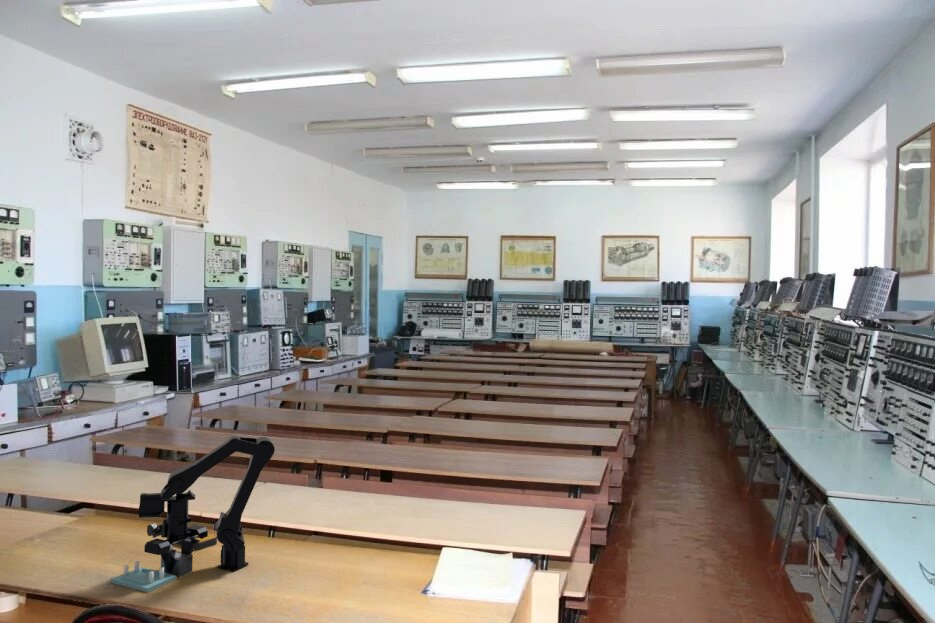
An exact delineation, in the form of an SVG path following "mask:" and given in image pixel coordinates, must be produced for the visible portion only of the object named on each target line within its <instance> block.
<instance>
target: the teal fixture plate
mask: <svg viewBox="0 0 935 623" xmlns="http://www.w3.org/2000/svg"><path fill="white" fill-rule="evenodd" d="M133 566H134V567H133V568H134V569H132V570H129V568H130V567H129V565H128V564H124V565H123V573H122V574H119V575H117V576H115V577H113V578H110V583H111V584H115V585H118V586H122V587H126V588H130V589H133V590H137V591H142V592H144V593H145V592H146V593H149V592H151V591H153V590H156V589H158V588H160V587H163V586H165V585H167V584H169V583H172V582H174V581H177V577H176V576H174V575H170V574H166V573H165V572H164V567H161V566H160V567H159V570H157V569H152V568H148V567H145V566H144V567H141V566H140V561H139V560H136V561H134V565H133Z"/></svg>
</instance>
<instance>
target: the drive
mask: <svg viewBox="0 0 935 623" xmlns="http://www.w3.org/2000/svg"><path fill="white" fill-rule="evenodd" d="M160 567H164V572H165V573H166V574H170V575H174V576H176V578H181V577H183V576H186V575H188V574H190V573H193V553H192V554H188V553H183V552H181V551H178V550H176V553H175V558H174V563H173V568H172V571H171V572H168V571H167V569H166V566H165V564H164V561H163V559H162V557H161V556H160Z"/></svg>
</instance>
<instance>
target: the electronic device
mask: <svg viewBox="0 0 935 623" xmlns="http://www.w3.org/2000/svg"><path fill="white" fill-rule="evenodd" d="M196 539H197V540H200V542H199V543H198V544H197V545H196V547H195V550H194V551H199V550H200V549H201V550H204V549H206V548H209V547H213V546H216V545H217V544H218V539H217V535H213V534H209V533H208V537H205V538H202V539H200V538H199V537H198V535H196ZM175 544H177V545H180V543H179V542H178V543H175ZM180 546H181V545H180ZM203 548H204V549H203Z"/></svg>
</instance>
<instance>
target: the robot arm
mask: <svg viewBox="0 0 935 623" xmlns="http://www.w3.org/2000/svg"><path fill="white" fill-rule="evenodd" d="M275 451H276V450H275V446H274V443H273V442H272V440H271V438H269V437H267V436H261V437H258V438H256V437H255V438H254V437H243V436H242V437H241V436H237V435H234V436H230V437H229V438H228V440H226V441H224V442H223V443H221V444H220V445H219V446H217V447H215V448H213V449H212V450H211V451H210V452H208V453H206V454H205V455H203V456H202V457H200V458H199V459H197V460H196V461H195V462H192V463H190V464H187V465H184V466H181V467H180V468H178V469H175V470H173V471H171V473H170V474H169V476H168V479H167V483H166V484H165V485H164V487H162V489H161V491H160V492H155V493H154V492H153V493H147V492H142V493H140V496H139V505H138V519H148V518H160V517H161V516H162V514H165V511H166V518H164V519H163V520H162V523H160V524H158V525H157V523H156V522H154V523H150V524H148V525H147V527H146V532H147V536H148V537H152V539H150V540H149V541H147V542H145V544H144V553H147V554H151V555H156V556H160V558H161V557H162V559H163V561H164V564H165V566H166V569H167V571H168V572H171V571H172V568H173V563H174V558H175V553H176V551H177V550H176V549H173V547H174V545H175V544H176V543H178V542H179V543H180V547H181V548H180V549H181V551H180V552H183V553H188V554H192V555H193V553H194V551H195V550H194V549H195V547H196V545H197V544H198V543H199V542H200V540H197V539H196V535H198V537H199V538H200V539H202V538H205V537H208V534H209V531H208V529H207V527H206V526H203V525H197V524H192V525H190V526H189V523H190V522H192V517H189V502H190V501H194V500H196V494H195V493H194V492H192V490H191V489H189V488H191V487H192V485H194V484H195V482H196V481H197V480H198V479H199V478H200V477H201V476H203V475H204V474H205V473H206V472H207V471H210V470H211V469H212V468H214V467H216V465H218V464H220V463H221V462H222V461H224V460H226V459H227V458H228V457H230V456H231V455H233V454H234V453H241V454H245V455H250V457H249V464H248V467H247V468H246V471H245V473H244V475H243V476H242V480H241V481H240V483H239V486H238V488H237V490H236V493H235V495H234V497H233V500H232V502H231V504H230V506H229V508H228V510H226V512H225V513H224V512H223V511H221V512H220V513H219V517H218V520H217V521H216V522H215V532H216V537H217V542H219V543H220V544H221V549H220V564H219V565H217V566H216V568H217V569H222V570H227V571H231V572H235V571H238V570H240V569H242V568H244V567H246V566H248V565H249V562H247V561H246V545H245V538H244V533H243V532H242V531H241V530H240V526H241V520H242V516H243V513H244V510H245V508H246V506H247V505H248V502H249V499H250V497H251V495H252V493H253V491H254V488H255V486H256V483H257V481H258V478H260V475H261V472H262V471H263V470H264V469H265V467H266V466H267V465H268V463H269V462H270V460H271V459H272V458H273V456H274V455H275ZM187 490H188V491H187ZM165 503H166V504H167V505H166V504H165ZM165 506H166V507H167V508H166V510H165ZM157 537H161V539H160V538H157ZM162 538H164V539H162Z"/></svg>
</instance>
